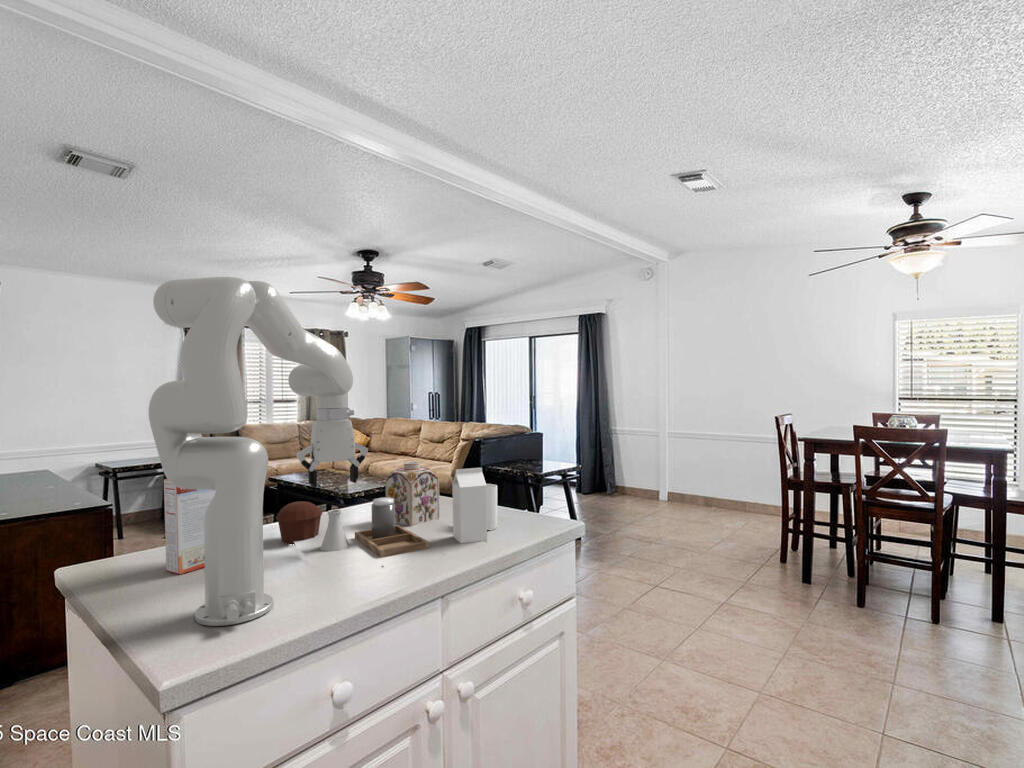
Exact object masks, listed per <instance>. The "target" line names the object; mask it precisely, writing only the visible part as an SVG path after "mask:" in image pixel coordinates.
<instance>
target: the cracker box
mask: <svg viewBox="0 0 1024 768" xmlns="http://www.w3.org/2000/svg"><path fill="white" fill-rule="evenodd" d="M215 493H216V490H201V489H182V488H179V487H176V486H174V485H173V484H171V483H170V482H169V480H168V479H167V478H165V479H163V501H164V503H163V504H164V505H163V507H164V532H165V534H164V535H165V536H164V537H165V539H164V540H165V568H166V570H165V571H167V572H170V573H173V574H177V575H183V574H186V572H187V573H190V572H192V571H196V570H200V569H203V568H205V566H204V516H205V512H206V509H207V507H208V505H209V504H210V502H211V500H212V499H213V497H214V495H215Z"/></svg>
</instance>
